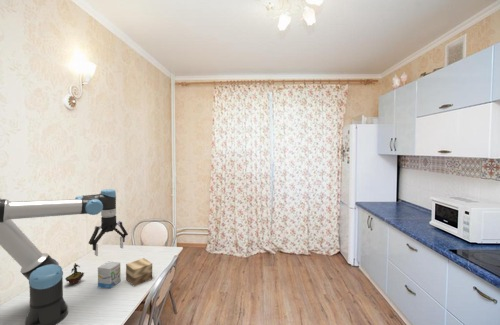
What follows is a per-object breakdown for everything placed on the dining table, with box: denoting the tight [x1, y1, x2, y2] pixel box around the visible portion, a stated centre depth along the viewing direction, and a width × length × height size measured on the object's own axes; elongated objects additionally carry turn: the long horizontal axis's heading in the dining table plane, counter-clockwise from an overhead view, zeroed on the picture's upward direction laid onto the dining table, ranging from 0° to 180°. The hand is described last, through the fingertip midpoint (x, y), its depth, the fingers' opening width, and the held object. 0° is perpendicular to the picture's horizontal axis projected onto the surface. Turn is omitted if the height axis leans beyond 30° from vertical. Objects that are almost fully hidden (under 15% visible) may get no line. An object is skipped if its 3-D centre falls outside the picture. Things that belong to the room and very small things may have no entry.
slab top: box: [125, 257, 153, 278], centre depth 145 cm, size 11×11×5 cm
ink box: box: [97, 260, 121, 289], centre depth 139 cm, size 8×8×12 cm
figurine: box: [65, 263, 85, 285], centre depth 139 cm, size 10×8×12 cm
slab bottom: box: [125, 271, 153, 287], centre depth 145 cm, size 11×11×5 cm
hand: (109, 251), depth 139 cm, fingers open, 13 cm apart
